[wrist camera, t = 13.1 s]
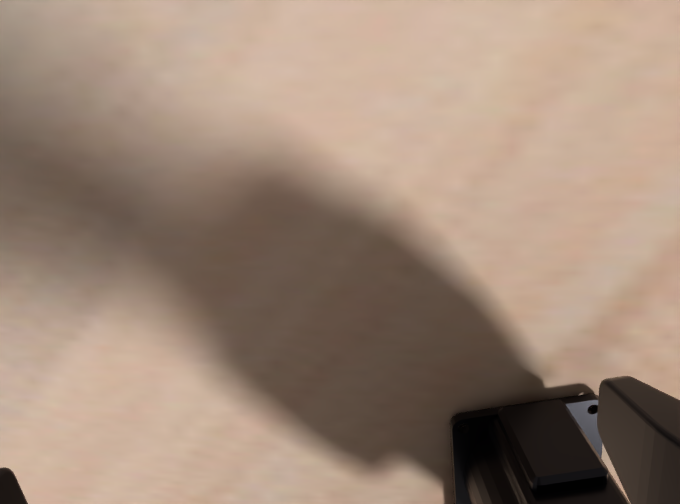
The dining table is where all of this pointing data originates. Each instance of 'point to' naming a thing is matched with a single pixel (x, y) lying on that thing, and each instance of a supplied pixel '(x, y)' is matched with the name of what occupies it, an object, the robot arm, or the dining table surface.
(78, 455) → the dining table surface
